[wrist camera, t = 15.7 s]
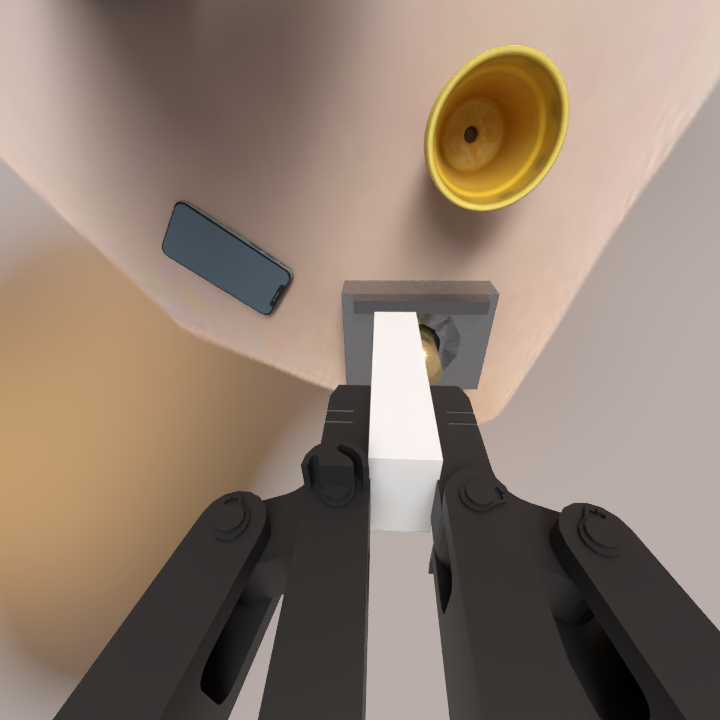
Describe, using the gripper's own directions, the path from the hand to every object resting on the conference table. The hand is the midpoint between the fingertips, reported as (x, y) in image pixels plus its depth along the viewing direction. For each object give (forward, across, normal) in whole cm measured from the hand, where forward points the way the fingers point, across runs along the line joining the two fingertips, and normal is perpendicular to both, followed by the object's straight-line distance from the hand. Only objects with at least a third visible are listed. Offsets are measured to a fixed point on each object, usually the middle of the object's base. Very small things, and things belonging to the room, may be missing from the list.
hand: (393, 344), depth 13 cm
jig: (+29, +4, -16) cm, 34 cm away
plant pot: (+30, +8, +6) cm, 31 cm away
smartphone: (+30, -19, -6) cm, 36 cm away
